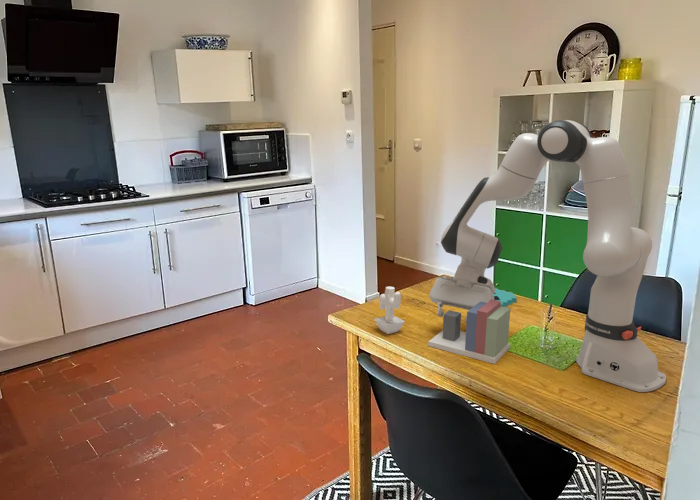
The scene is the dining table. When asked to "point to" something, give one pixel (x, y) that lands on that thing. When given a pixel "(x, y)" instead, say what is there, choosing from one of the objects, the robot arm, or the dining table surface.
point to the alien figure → (504, 297)
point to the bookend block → (451, 325)
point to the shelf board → (480, 333)
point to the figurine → (389, 311)
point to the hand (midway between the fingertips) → (453, 319)
